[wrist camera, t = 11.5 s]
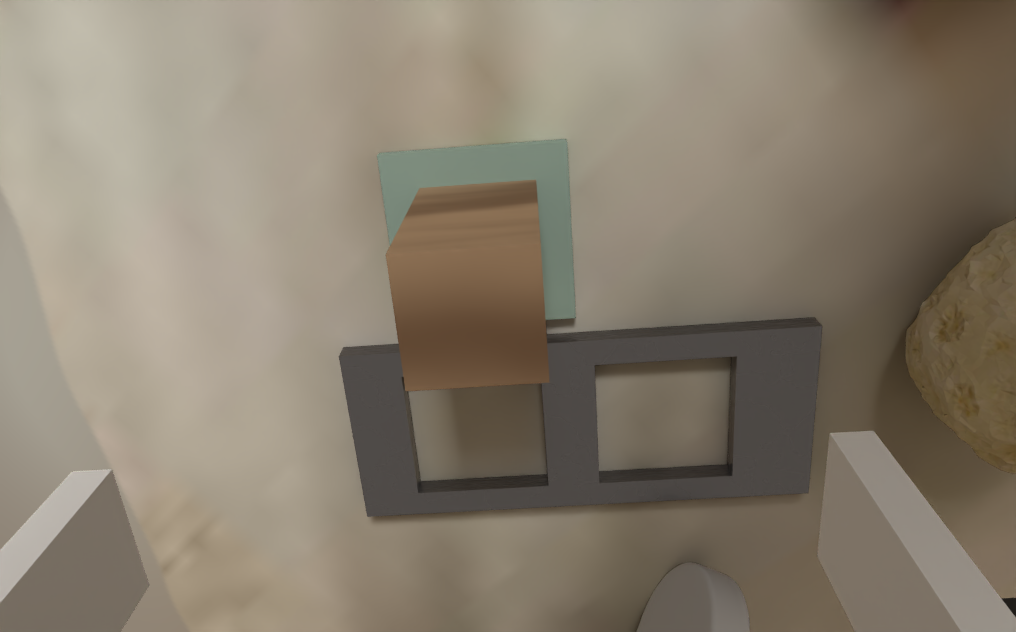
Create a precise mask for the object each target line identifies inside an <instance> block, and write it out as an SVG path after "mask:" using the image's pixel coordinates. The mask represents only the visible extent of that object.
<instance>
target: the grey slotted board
mask: <svg viewBox="0 0 1016 632" xmlns="http://www.w3.org/2000/svg"><path fill="white" fill-rule="evenodd" d="M821 334H822V325H821V324H820V323H819V322H818V321H817V320H816V318H815V317H814V318H799V319H783V320H767V321H751V322H736V323H720V324H704V325H688V326H673V327H657V328H641V329H626V330H610V331H594V332H578V333H563V334H547V350H548V365H549V381H550V383H542V397H543V412H544V426H545V441H546V455H547V470H548V474H546V475H528V476H510V477H492V478H474V479H456V480H438V481H421V480H420V473H419V466H418V459H417V452H416V445H415V438H414V431H413V424H412V417H411V410H410V403H409V396H408V391H405V384H404V377H403V370H402V363H401V356H400V349H399V344H390V345H374V346H358V347H343V349H342V351H341V353H340V356H339V360H340V365H341V371H342V377H343V382H344V388H345V393H346V399H347V405H348V410H349V416H350V422H351V427H352V433H353V439H354V444H355V450H356V455H357V461H358V467H359V472H360V478H361V484H362V489H363V495H364V501H365V506H366V512H367V517H370V516H389V515H408V514H426V513H445V512H464V511H482V510H501V509H520V508H538V507H557V506H576V505H594V504H613V503H632V502H650V501H669V500H688V499H706V498H725V497H744V496H762V495H781V494H800V493H808V491H809V479H810V467H811V455H812V443H813V431H814V419H815V407H816V395H817V383H818V371H819V359H820V347H821ZM719 357H731V379H730V407H729V436H728V464H727V465H709V466H691V467H673V468H655V469H637V470H619V471H601V472H599V464H598V438H597V413H596V387H595V365H605V364H621V363H637V362H654V361H670V360H686V359H702V358H719Z"/></svg>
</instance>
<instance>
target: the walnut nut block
mask: <svg viewBox="0 0 1016 632" xmlns="http://www.w3.org/2000/svg"><path fill="white" fill-rule="evenodd" d="M386 259H387V266H388V273H389V280H390V287H391V294H392V301H393V308H394V315H395V322H396V328H397V335H398V342H399V349H400V356H401V363H402V370H403V377H404V384H405V391H419V390H435V389H451V388H468V387H484V386H500V385H517V384H533V383H550V381H549V365H548V350H547V334H546V319H545V303H544V288H543V273H542V257H541V242H540V227H539V213H538V198H537V184H536V180H522V181H509V182H495V183H481V184H468V185H454V186H440V187H427V188H419V190H418V192H417V194H416V196H415V198H414V200H413V202H412V204H411V206H410V208H409V210H408V212H407V214H406V216H405V218H404V220H403V221H402V223H401V225H400V227H399V229H398V231H397V233H396V235H395V237H394V239H393V241H392V243H391V245H390V247H389V249H388V251H387V253H386Z"/></svg>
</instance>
